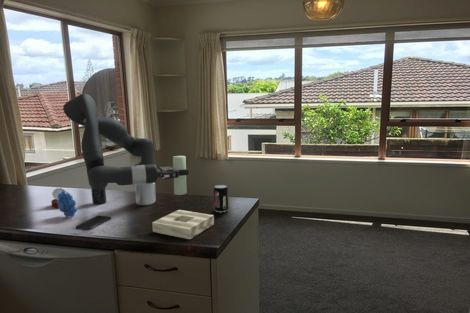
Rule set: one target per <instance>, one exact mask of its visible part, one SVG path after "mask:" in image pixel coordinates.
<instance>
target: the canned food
mask: <svg viewBox="0 0 470 313" xmlns="http://www.w3.org/2000/svg"><path fill="white" fill-rule="evenodd" d="M62 191H65V192H67V193H69V194H71V193H70V192H68V191H66V190H65V189H64V188H61V187H60V188H54V189H53V191H52V193H51V194H52V195H51V196H52V197H53V198H54V199H52V200H51V201H50V202H51V208H52V209H60V208H59V207H58V204H57V201H58V199H59V198H58V194H59V193H61V192H62ZM72 199H73V200H74V198H73V196H72Z"/></svg>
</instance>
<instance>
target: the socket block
mask: <svg viewBox="0 0 470 313" xmlns="http://www.w3.org/2000/svg"><path fill="white" fill-rule="evenodd" d="M214 224H215V215H214V214H208V213H201V212H194V211H189V210H183V209H178V210H175V211H173V212H171V213H170V214H167V215H164V216H163V217H161V218H159V219H158V218H157V219H156V220H155V221H152V233H157V234H162V235H166V236H173V237H177V238H182V239H187V240H191V239H193V238H194V237H196V236H198V235H199V234H201V233H202V232H204V231H205V230H207V229H209V228H211V227H212V226H214Z"/></svg>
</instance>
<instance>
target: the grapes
mask: <svg viewBox="0 0 470 313" xmlns="http://www.w3.org/2000/svg"><path fill="white" fill-rule="evenodd" d="M65 191H66V190H65ZM65 191H62V192H61V193H59V194H58V198H59V199H58V201H57V204H58V207H59V208H58V209H59V211H60V212H61V213H63V215H64V216H65V217H67V218H68V217H70V218H73V217H75V214H76V213H77V211H78V209H77V207H76V203H77V202H76V200H75V199H74V198H73V199H72V197H73V195H72V194H71V193H70V192H68V191H67V192H68V193H67V192H65ZM69 193H70V194H69Z"/></svg>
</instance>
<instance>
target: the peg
mask: <svg viewBox="0 0 470 313" xmlns="http://www.w3.org/2000/svg"><path fill="white" fill-rule="evenodd" d="M186 158H187V157H186V156H185V155H175V156H172V167H173V170H185V169H187V164H186V163H187V162H186V161H187V160H186ZM173 175H175V173H174V174H173ZM187 188H188V186H187V175H183V176H179V177H178V178H173V191H174V192H173V194H174V195H175V196H176V195H178V196H182V195H185V194H187V192H188V190H187Z"/></svg>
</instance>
